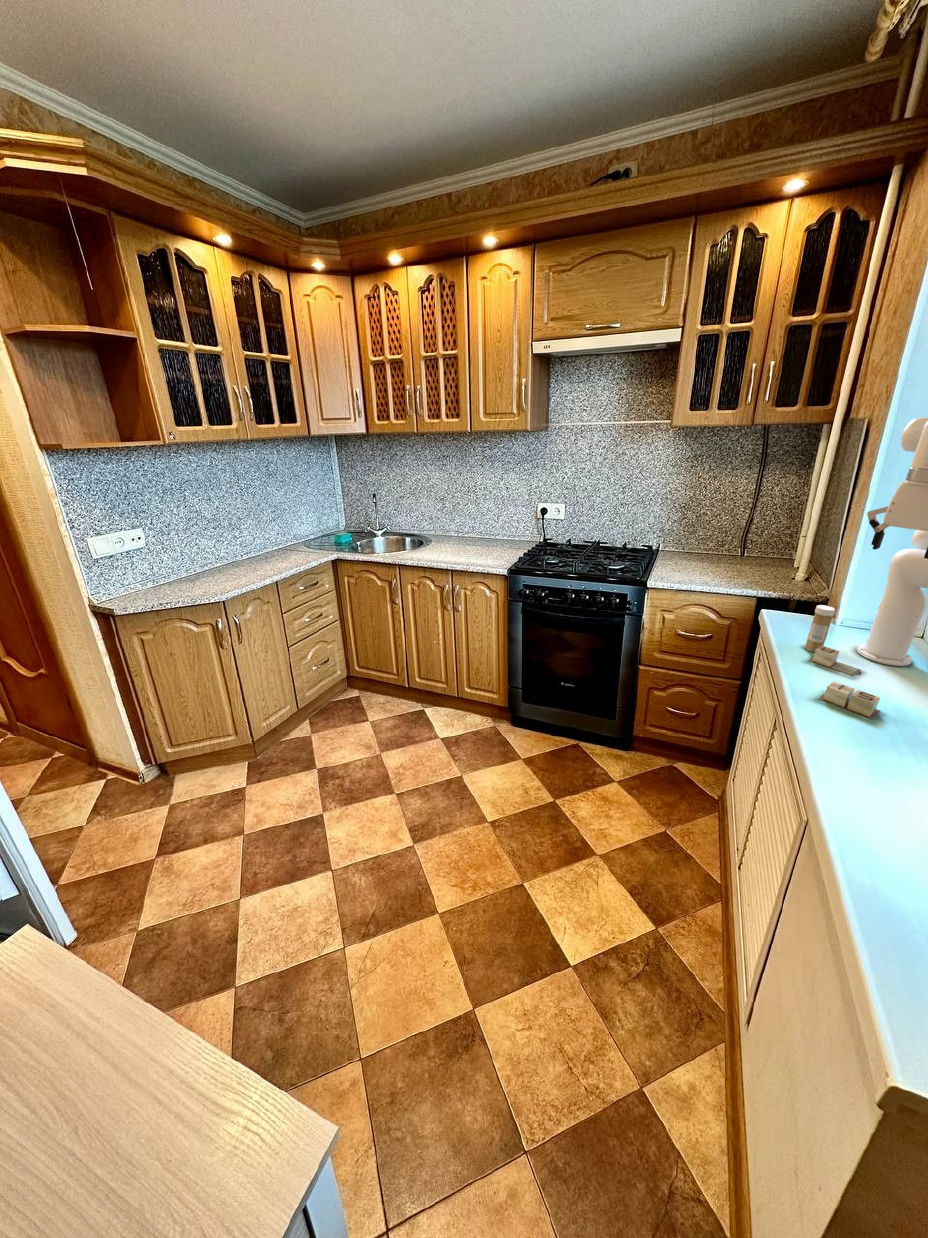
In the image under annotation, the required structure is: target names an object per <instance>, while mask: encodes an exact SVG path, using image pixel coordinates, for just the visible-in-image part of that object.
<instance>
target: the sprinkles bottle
mask: <svg viewBox="0 0 928 1238" xmlns="http://www.w3.org/2000/svg"><path fill="white" fill-rule="evenodd" d="M835 612H836V608H835V607H832V606H829V605H824V604H819V605H816V607H815V609H814V615H813V619H812V622H811V625H810V629H809V632H808V635H807V639H806V641H805V645H804V649H805V650H806V651H808V652H813V653H815V650H816V649H817V648H819V647H821V646H824V645H825V642H826V640H827V637H828V633H829V629H830V626H831V623H832V620H833V617H834V615H835V614H836V613H835Z"/></svg>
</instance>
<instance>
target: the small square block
mask: <svg viewBox="0 0 928 1238" xmlns="http://www.w3.org/2000/svg"><path fill="white" fill-rule="evenodd" d="M880 700H881V697H880V696H877V695H874V694H872V693H869V692H866V691H863V690H860V689H857V690H856V691H854V693H853V695H852V696H851V698H850V701H849V704H848V707H847V709H850V710H852V711H855V712H858V713H860V714H863V715H865V716H868V717H869V716H870V715H871V714H872V713H874V712H875V710H877V707H878V705H879V703H880Z"/></svg>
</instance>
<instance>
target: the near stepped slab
mask: <svg viewBox="0 0 928 1238" xmlns="http://www.w3.org/2000/svg"><path fill="white" fill-rule="evenodd" d="M855 690H856V688H854V687H851V686H849V685H846V684H843V683H842V682H841V683H840V682H838V681H832V682H831V683H830V684H829V685H827V686H826V688H825V692H824V694H822V695H821V696H820V697H818V698H817V700H819V701H821V702H824V703H826V704H828V705H831V706H834V707H836V708H839V709H842V710H845V711H847V712H849V713H851V714H855V715H857V716H859V717H863V718H865V719H868V720H870V721H872V720H873V719H874V718H876V717H877V716H878V715H879V713H881V710H879V709H876V710H875V712H874V713H872V714H871V715H870V716H869V717H868V716H865V715H863V714H860V713H858V712H855V711H852V710H850V709H847V707H848V704H849V701H850V698H851V696H852V695H853V694H854V693H855Z"/></svg>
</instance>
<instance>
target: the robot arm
mask: <svg viewBox="0 0 928 1238" xmlns="http://www.w3.org/2000/svg"><path fill="white" fill-rule="evenodd" d="M900 443H901V444H900V445H901V447H902V449H903V450H904V451H905V452H909V453H911V452H912V453H914V454H913V457H912V459H911V460H912V461H911V463H910V466H909V469H908V471H907V475H906V477H905V480H904V481H901V482H900V483H899V484H898V486H897V488H896V489H895V491H894V493H893V496H892V497H891V500H890V502H889V504H888V506H885V507H880V508H876V509H872V510H869V511H867V513H866V514H867V519H868V523H869V525H870V526H871V528H872V529H873V532H874V535H873V538H872V540H871V544H870V545H871V546H872V550H874V551H877V550H878V549H880V548H881V547H882V543H883V540H884V538H885V534H886V533H885V530H886V529H888V528H889V527H893V528H901V529H907V530H913V531H914V532H913V534H912V537H911V545H912V546H913V548H904V549H900V550H899V551H897V552H896V553H895V554H894V555H892V557H891V560H890V563H889V569H888V575H887V580H886V584H885V588H884V591H883V595H882V597H881V599H880V602H879V606H878V607H877V611H876V614H875V617H874V619H873V622H872V625H871V629H870V631H869V633H868V636H867V639H866V641H865V643H862V644H859V645H858V646H857V647H856V652H857V653H858V654H859V655H860V656H862V657H864V658H866V659H868V660H870V661H873V662H876V663H879V664H883V665H889V666H893V667H894V666H895V667H896V666H897V667H907V666H910V665H911V664H912V662H913V658H912V656H910V655H909V654H908V653H909V650H910V648H911V645H912V642H913V639H914V637H915V634H916V632H917V630H918V628H919V626H920V625H919V624H920V623H921V620H922V618H923V614H924V613H925V610H926V607H927V598H926V596H925V594H924V592H923V590H922V588H923V589H928V417H924V416H923V417H921V416H920V417H916V418H913V419H912V420H911V421H909V422H908V424H907V425H906V426H905V428H904V429H903V431H902V433H901V438H900ZM881 514H884V517H883V522H882V523H880V522H879V520H878V518H877V516H878V515H881Z"/></svg>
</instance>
